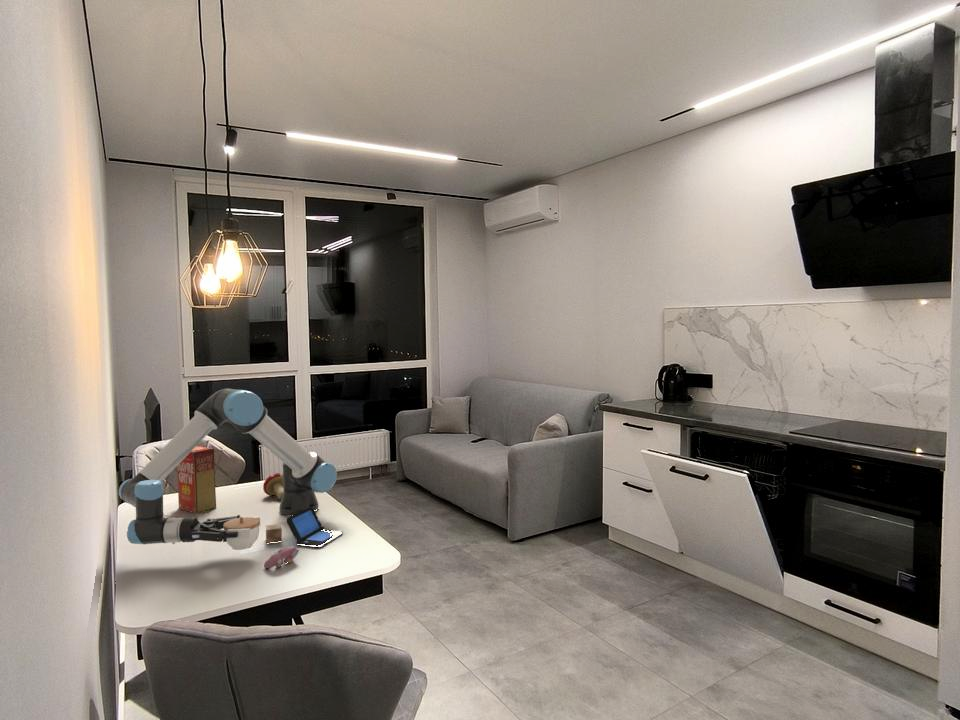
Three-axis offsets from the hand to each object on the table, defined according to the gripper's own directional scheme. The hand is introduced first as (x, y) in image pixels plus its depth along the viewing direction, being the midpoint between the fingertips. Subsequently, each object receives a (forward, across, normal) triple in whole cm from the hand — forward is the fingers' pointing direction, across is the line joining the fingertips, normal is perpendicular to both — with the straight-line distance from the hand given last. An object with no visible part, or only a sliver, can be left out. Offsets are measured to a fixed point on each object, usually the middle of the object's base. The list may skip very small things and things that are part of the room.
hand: (255, 527), depth 186 cm
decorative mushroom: (-10, -70, -10) cm, 72 cm away
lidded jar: (-4, 0, -6) cm, 8 cm away
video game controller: (+10, +7, -10) cm, 16 cm away
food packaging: (-39, -58, -10) cm, 71 cm away
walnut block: (+2, -15, -10) cm, 18 cm away
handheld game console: (+16, -15, -10) cm, 24 cm away
